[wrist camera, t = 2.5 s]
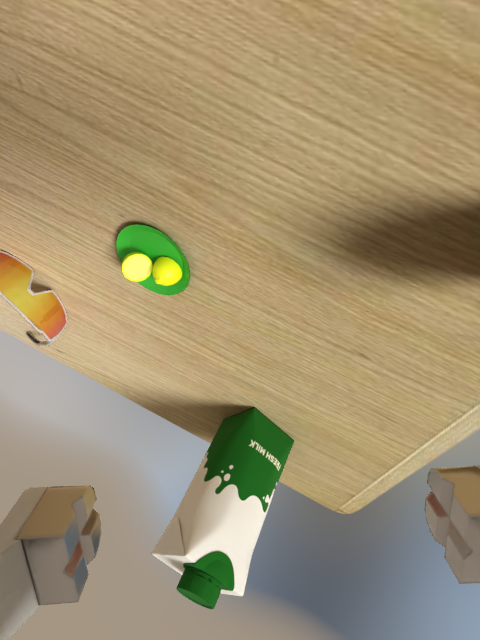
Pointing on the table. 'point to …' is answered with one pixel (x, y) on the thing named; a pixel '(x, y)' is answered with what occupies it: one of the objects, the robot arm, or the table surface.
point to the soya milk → (225, 508)
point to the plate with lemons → (152, 260)
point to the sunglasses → (31, 299)
